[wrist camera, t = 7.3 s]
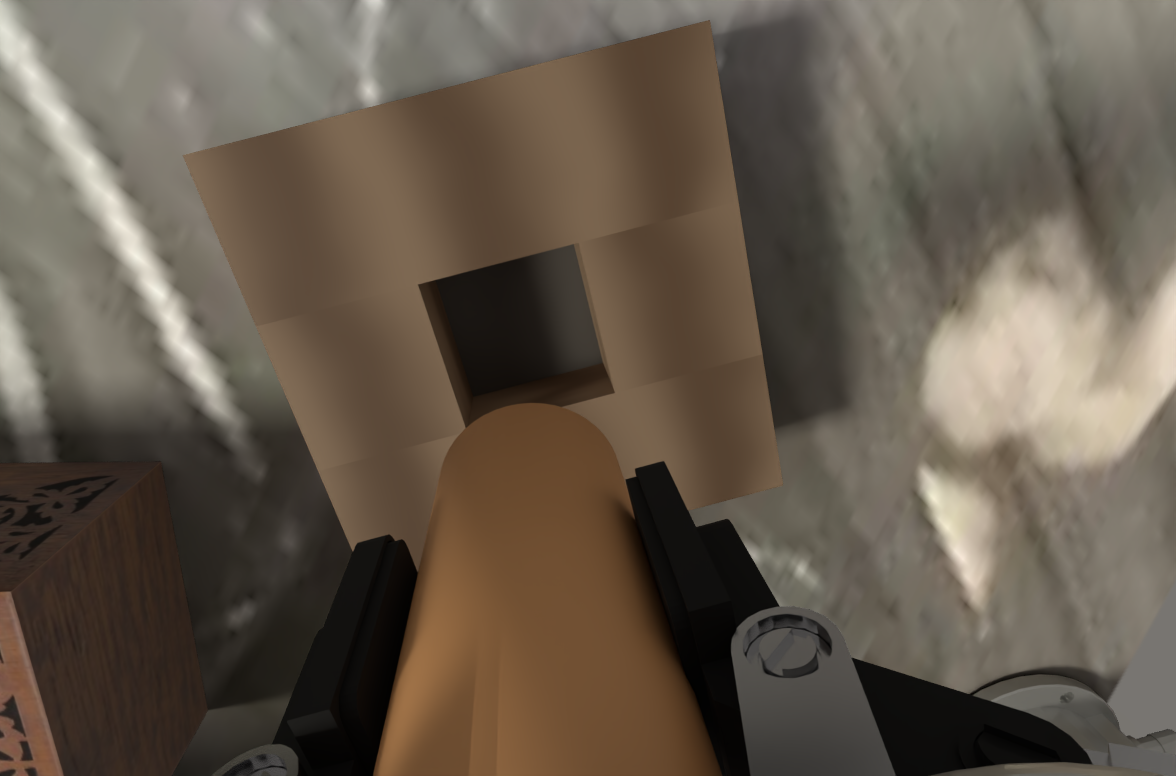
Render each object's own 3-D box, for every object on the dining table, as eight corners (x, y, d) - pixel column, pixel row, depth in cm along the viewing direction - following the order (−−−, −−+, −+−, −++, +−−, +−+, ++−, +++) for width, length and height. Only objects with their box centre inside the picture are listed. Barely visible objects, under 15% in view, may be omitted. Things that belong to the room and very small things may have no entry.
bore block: (676, 42, 27) (709, 20, 23) (745, 438, 33) (783, 485, 29) (241, 154, 27) (182, 155, 22) (391, 531, 33) (371, 594, 29)
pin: (597, 381, 14) (914, 1259, 3) (638, 538, 16) (954, 1536, 4) (413, 430, 14) (38, 1511, 3) (470, 584, 16) (360, 1712, 4)
